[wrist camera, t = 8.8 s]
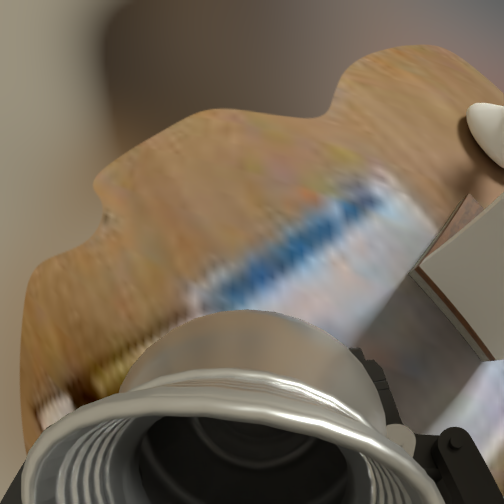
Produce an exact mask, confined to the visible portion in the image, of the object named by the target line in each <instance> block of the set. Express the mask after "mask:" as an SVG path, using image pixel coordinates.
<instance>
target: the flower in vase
mask: <svg viewBox="0 0 504 504" xmlns="http://www.w3.org/2000/svg"><path fill="white" fill-rule="evenodd" d="M466 116H467V123H468V126H469V129H470V131H471V133H472V135H473V137H474V138H475V140H476V141H477V143H478V144H479V145H480V147H481V148H482V149H483V150H484V152H485V153H486V154H487V155H488V156H489V157H490V158H491V159H492V160H493V161H494V162H496V163H497V164H498V165H499V166H501V167H502V168H504V106H499V105H494V104H488V103H475V104H473V105H471V106H470V107H469V108H468V109H467V112H466Z"/></svg>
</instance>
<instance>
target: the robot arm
mask: <svg viewBox="0 0 504 504" xmlns="http://www.w3.org/2000/svg"><path fill="white" fill-rule="evenodd" d="M349 350H350V351H351V352H352V354H353V355H354V356H355V357H356V358H357V359H358V360H359V361H360V362H361V363H362V365H363V366H364V368H365V370H366V371H367V373H368V375H369V376H370V378H371V380H372V382H373V383H374V385H375V387H376V389H377V391H378V394H379V397H380V400H381V403H382V406H383V410H384V413H385V419H386V432H387V438H388V439H389V440H391V441H393V442H394V443H396V444H398V445H399V446H401V447H402V448H403V449H404V450H405V451H406V452H407V453H408V454H409V455H410V456H411V457H412V458H413V459H414V460H415V461H416V462H417V463H418V464H419V465H420V466H421V467H422V468H423V469H424V470H425V471H426V473H427V475H428V476H429V477H430V478H431V479H432V480H433V481H434V482H435V484H436V486H437V488H438V490H439V492H440V494H441V496H442V498H443V500H444V502H445V504H504V498H503V496H502V494H501V492H500V490H499V488H498V486H497V484H496V482H495V480H494V478H493V476H492V474H491V472H490V470H489V469H488V467H487V465H486V463H485V461H484V459H483V458H482V456H481V454H480V452H479V450H478V449H477V447H476V445H475V443H474V442H473V440H472V438H471V436H470V435H469V433H468V432H467V431H465V430H464V429H462V428H459V427H450V428H447V429H446V430H444V431H443V432H442V433H441V434H440V436H438V435H419V434H415V433H413V432H412V430H410V429H409V428H408V427H406V426H404V425H403V424H402V422H401V419H400V416H399V413H398V411H397V408H396V405H395V402H394V399H393V397H392V394H391V391H390V390H389V386H388V383H387V381H386V378H385V375H384V373H383V370H382V368H381V367H380V366H379V365H378V364H377V363H376V362H375V361H374V360H367V361H365V358H364V355H363V353H362V350H361V349H360V348H351V349H349ZM49 427H50V426H49ZM49 427H48V428H49ZM46 429H47V428H46ZM25 461H26V460H25ZM24 465H25V462H24V463H23V465H22V467H21V469H20V470H19V472H18V473H17V475H16V477H15V478H14V480H13V482H12V483H11V485H10V487H9V489H8V490H7V492H6V494H5V495H4V497H3V499H2V501H1V503H0V504H22V500H21V475H22V471H23V468H24ZM139 472H140V475H141V478H142V471H141V468H140V465H139ZM142 481H143V478H142ZM142 486H143V484H142Z"/></svg>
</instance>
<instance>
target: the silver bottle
mask: <svg viewBox="0 0 504 504" xmlns="http://www.w3.org/2000/svg"><path fill="white" fill-rule="evenodd" d="M139 465H140V468H141V471H142V478H143V481H142V478H141V475H140V472H139ZM142 484H143V486H142ZM21 500H22V504H445V502H444V500H443V498H442V496H441V494H440V492H439V490H438V488H437V486H436V484H435V482H434V481H433V480H432V479H431V478H430V477H429V476H428V475H427V473H426V471H425V470H424V469H423V468H422V467H421V466H420V465H419V464H418V463H417V462H416V461H415V460H414V459H413V458H412V457H411V456H410V455H409V454H408V453H407V452H406V451H405V450H404V449H403V448H402V447H401V446H399V445H398V444H396V443H394V442H393V441H391V440H389V439H388V438H387V432H386V419H385V413H384V410H383V406H382V403H381V400H380V397H379V394H378V391H377V389H376V387H375V385H374V383H373V382H372V380H371V378H370V376H369V375H368V373H367V371H366V370H365V368H364V366H363V365H362V363H361V362H360V361H359V360H358V359H357V358H356V357H355V356H354V355H353V354H352V352H351V351H350V350H349V349H348V348H347V347H346V346H345V345H344V344H342V343H341V342H339V341H338V340H337V339H335V338H334V337H333V336H331V335H330V334H328V333H327V332H326V331H324V330H322V329H320V328H318V327H316V326H314V325H312V324H310V323H307V322H305V321H303V320H301V319H298V318H294V317H291V316H287V315H283V314H280V313H276V312H269V311H258V310H248V309H247V310H235V311H222V312H217V313H214V314H210V315H206V316H202V317H199V318H195V319H193V320H191V321H189V322H187V323H185V324H183V325H181V326H179V327H176V328H174V329H173V330H171V331H170V332H169V333H167V334H166V335H165V336H163V337H162V338H161V339H159V340H158V341H157V342H155V343H154V344H153V345H151V346H150V347H149V348H147V349H146V350H145V352H144V353H143V354H142V355H141V356H140V357H139V358H138V360H137V361H136V362H135V363H134V364H133V365H132V367H131V368H130V370H129V372H128V374H127V376H126V378H125V379H124V381H123V383H122V385H121V387H120V391H119V394H114V395H111V396H108V397H106V398H103V399H101V400H98V401H95V402H92V403H90V404H87V405H84V406H81V407H79V408H78V409H77V410H75V411H74V412H72V413H69V414H67V415H66V416H64V417H63V418H61V419H60V420H59V421H57V422H56V423H54V424H53V425H51V426H50V427H49V428H47V429H46V430H44V431H43V433H42V434H41V435H40V437H39V438H38V439H37V441H36V442H35V443H34V445H33V446H32V448H31V449H30V450H29V452H28V455H27V458H26V461H25V465H24V468H23V471H22V475H21Z"/></svg>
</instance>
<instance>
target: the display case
mask: <svg viewBox="0 0 504 504" xmlns="http://www.w3.org/2000/svg"><path fill="white" fill-rule="evenodd" d="M408 274H409V275H410V276H411V277H412V278H413V279H414V280H415V281H416V283H417V284H418V285H419V286H420V287H421V288H422V289H423V290H424V291H425V293H426V294H427V295H428V296H429V297H430V298H431V299H432V300H433V302H434V303H435V304H436V305H437V306H438V307H439V308H440V310H441V311H442V312H443V313H444V314H445V315H446V317H447V318H448V319H449V320H450V321H451V323H452V324H453V325H454V326H455V328H456V329H457V330H458V331H459V332H460V334H461V335H462V336H463V337H464V339H465V340H466V341H467V342H468V344H469V345H470V346H471V348H472V349H473V350H474V351H475V353H476V354H477V355H478V357H479V358H480V359H481V361H482V362H485V361H494V360H503V359H504V192H503V193H502V194H501V195H500V196H499V197H498V198H497V199H496V200H494V201H493V202H492V203H491V204H490V205H489V206H488V207H487V208H486V209H485V210H484V209H483V207H482V206H481V205H480V204H479V203H478V202H477V201H476V200H475V199H474V198H473V197H472V195H471V194H470V193H469V194H468V195H467V196H466V197H465V198H464V199H463V200H462V201H461V202H460V203H459V204H458V206H457V207H456V209H455V210H454V212H453V213H452V215H451V216H450V218H449V219H448V221H447V222H446V224H445V225H444V227H443V228H442V229H441V231H440V232H439V234H438V235H437V236H436V238H435V239H434V241H433V242H432V243H431V245H430V246H429V247H428V249H427V250H426V251H425V253H424V254H423V255H422V257H421V258H420V259H419V261H418V262H417V263H416V264H415V266H414V267H413V268H412V269H411V271H410V272H409V273H408Z"/></svg>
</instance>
